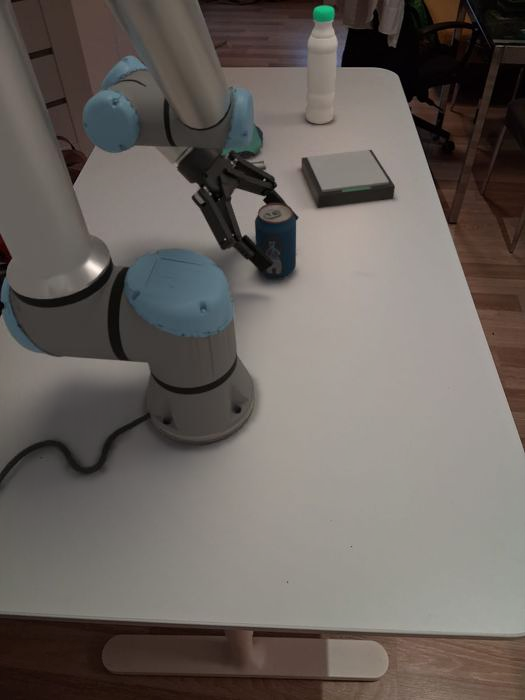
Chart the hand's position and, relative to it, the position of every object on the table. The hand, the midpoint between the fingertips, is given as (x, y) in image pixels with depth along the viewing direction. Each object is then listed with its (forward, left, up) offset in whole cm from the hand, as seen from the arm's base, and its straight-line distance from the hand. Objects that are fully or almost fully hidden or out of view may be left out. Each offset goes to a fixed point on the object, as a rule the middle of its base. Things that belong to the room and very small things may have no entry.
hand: (281, 243), depth 93 cm
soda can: (-1, 0, -6) cm, 6 cm away
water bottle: (+21, +58, -6) cm, 62 cm away
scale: (+19, +26, -6) cm, 33 cm away
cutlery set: (-5, +45, -6) cm, 46 cm away
